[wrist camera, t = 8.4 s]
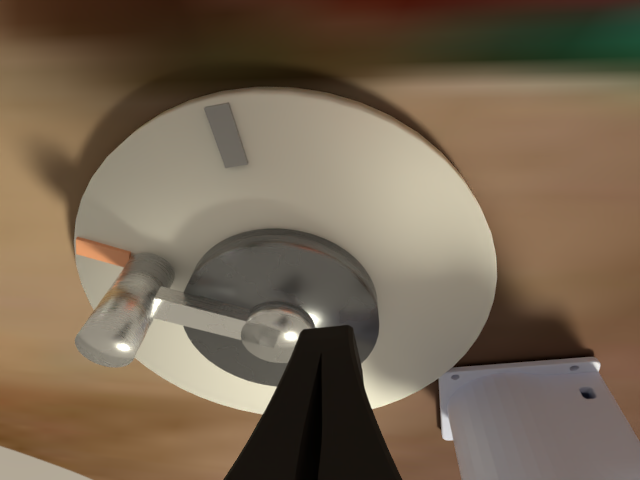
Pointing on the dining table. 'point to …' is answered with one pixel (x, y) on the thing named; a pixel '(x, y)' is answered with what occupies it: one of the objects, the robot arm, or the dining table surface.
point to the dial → (238, 303)
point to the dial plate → (296, 224)
